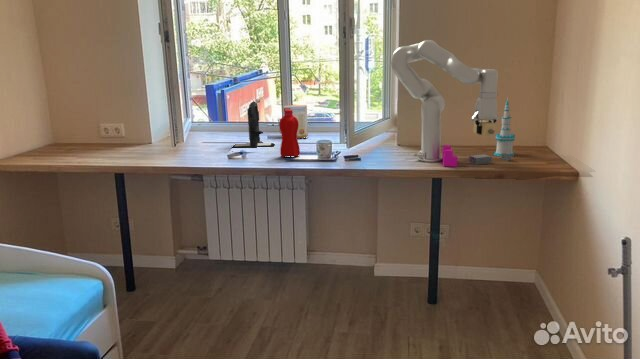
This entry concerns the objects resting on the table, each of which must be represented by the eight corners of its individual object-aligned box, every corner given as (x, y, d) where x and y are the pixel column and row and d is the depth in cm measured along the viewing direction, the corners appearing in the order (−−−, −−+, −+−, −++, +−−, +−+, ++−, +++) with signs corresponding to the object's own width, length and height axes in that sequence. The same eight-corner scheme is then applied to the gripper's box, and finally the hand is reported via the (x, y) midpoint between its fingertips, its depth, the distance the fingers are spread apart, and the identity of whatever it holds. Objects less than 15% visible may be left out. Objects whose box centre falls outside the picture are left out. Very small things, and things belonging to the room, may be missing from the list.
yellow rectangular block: (487, 137, 253) (488, 124, 251) (473, 132, 264) (474, 120, 262) (496, 136, 254) (497, 124, 253) (482, 132, 265) (483, 120, 264)
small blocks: (475, 164, 260) (475, 158, 259) (468, 162, 265) (469, 155, 264) (511, 161, 265) (511, 154, 264) (503, 158, 271) (504, 152, 270)
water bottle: (286, 153, 296) (284, 108, 290) (302, 155, 290) (300, 109, 284) (275, 156, 289) (273, 110, 283) (291, 158, 283) (289, 111, 277)
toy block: (457, 166, 256) (458, 151, 254) (443, 166, 257) (444, 150, 255) (454, 160, 271) (456, 145, 269) (442, 159, 272) (443, 145, 270)
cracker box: (308, 137, 343) (307, 104, 338) (306, 139, 337) (305, 105, 332) (286, 137, 345) (285, 104, 340) (284, 139, 339) (283, 106, 334)
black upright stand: (235, 142, 333) (232, 96, 326) (276, 141, 334) (274, 95, 326) (227, 153, 303) (224, 102, 295) (272, 152, 303) (270, 101, 295)
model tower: (515, 156, 274) (519, 97, 266) (495, 156, 276) (498, 97, 268) (512, 152, 284) (516, 95, 276) (493, 152, 286) (496, 95, 278)
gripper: (498, 94, 261) (494, 131, 265) (467, 95, 256) (464, 133, 261) (507, 96, 254) (503, 134, 259) (476, 97, 249) (472, 135, 254)
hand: (484, 133), depth 260 cm, fingers closed on yellow rectangular block, 5 cm apart
